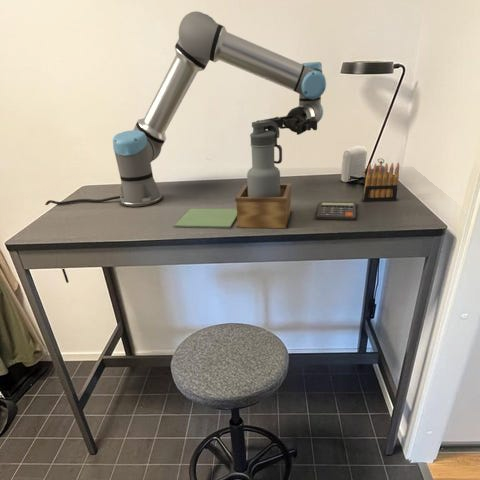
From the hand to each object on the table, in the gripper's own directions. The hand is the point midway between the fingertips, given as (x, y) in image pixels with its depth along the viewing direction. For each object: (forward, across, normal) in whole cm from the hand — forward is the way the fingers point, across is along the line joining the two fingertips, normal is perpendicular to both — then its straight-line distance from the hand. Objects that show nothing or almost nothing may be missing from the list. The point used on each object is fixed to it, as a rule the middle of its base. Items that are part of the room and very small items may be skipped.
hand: (276, 129), depth 118 cm
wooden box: (+10, 0, -24) cm, 26 cm away
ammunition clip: (-19, -29, -25) cm, 43 cm away
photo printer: (-42, -15, -25) cm, 51 cm away
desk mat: (+15, +18, -24) cm, 34 cm away
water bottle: (+10, 0, -25) cm, 26 cm away
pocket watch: (-37, -27, -25) cm, 52 cm away
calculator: (-4, -19, -25) cm, 31 cm away
